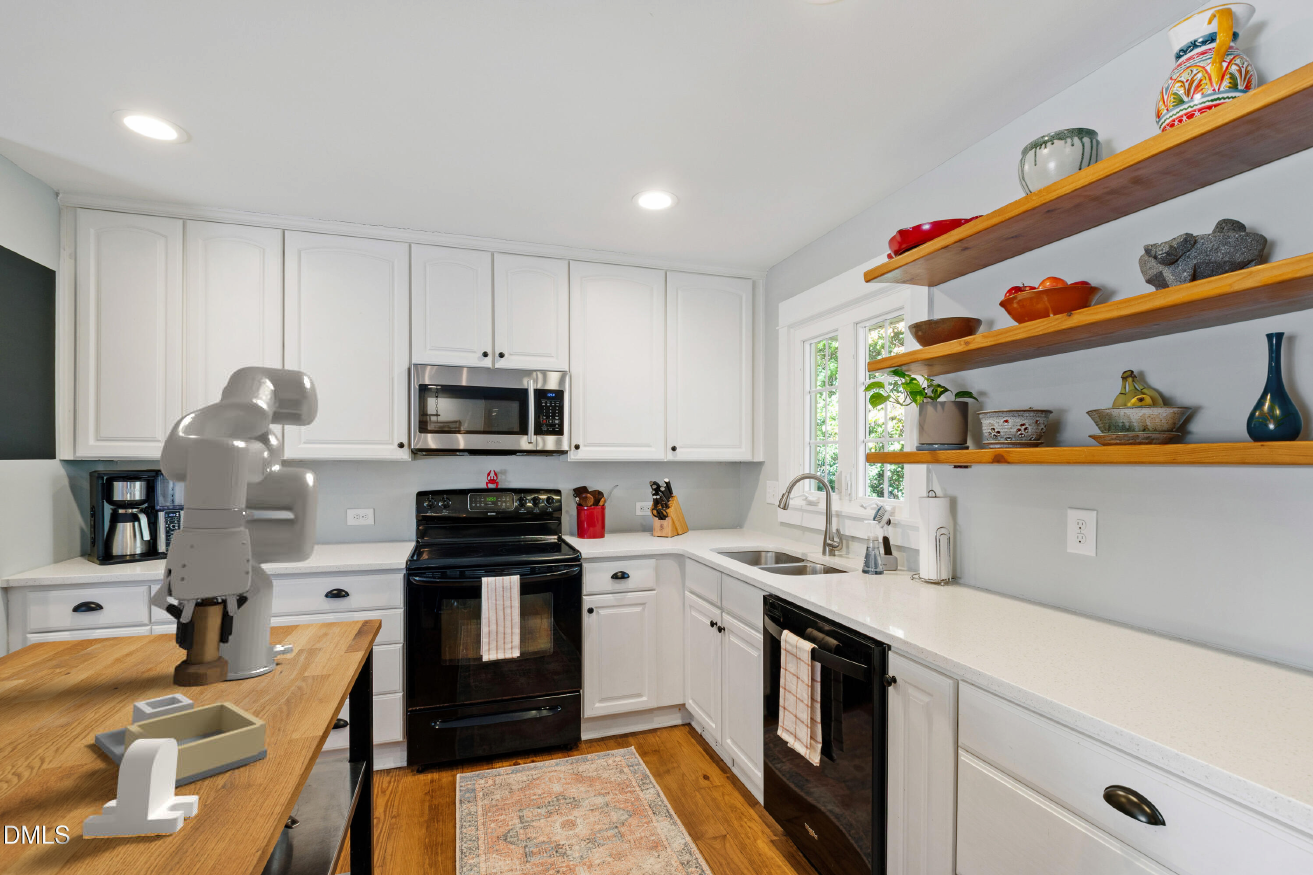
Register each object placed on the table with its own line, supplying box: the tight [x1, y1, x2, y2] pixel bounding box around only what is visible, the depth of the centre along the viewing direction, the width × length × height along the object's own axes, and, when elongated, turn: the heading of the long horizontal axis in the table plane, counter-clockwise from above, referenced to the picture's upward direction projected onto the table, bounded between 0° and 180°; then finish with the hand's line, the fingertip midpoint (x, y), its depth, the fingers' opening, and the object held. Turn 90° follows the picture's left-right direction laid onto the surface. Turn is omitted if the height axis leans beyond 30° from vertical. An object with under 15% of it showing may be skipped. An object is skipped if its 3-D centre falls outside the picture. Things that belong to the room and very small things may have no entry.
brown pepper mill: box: [172, 598, 228, 688], centre depth 92 cm, size 7×6×18 cm
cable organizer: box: [82, 738, 199, 836], centre depth 76 cm, size 5×10×10 cm, turn 100°
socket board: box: [94, 692, 268, 788], centre depth 94 cm, size 14×24×5 cm, turn 55°
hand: (203, 643), depth 92 cm, fingers closed on brown pepper mill, 4 cm apart
